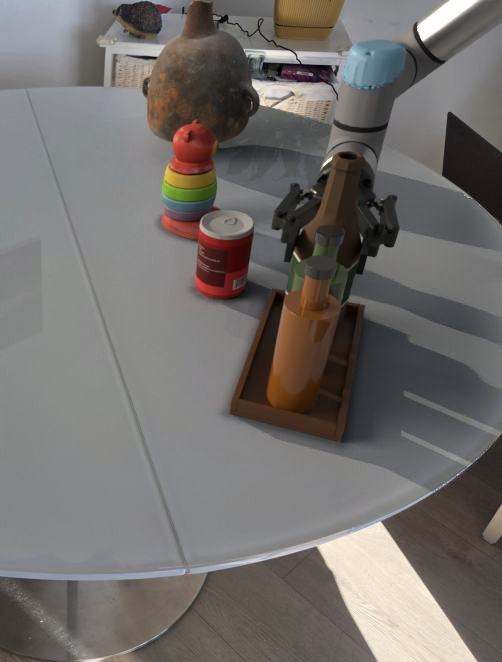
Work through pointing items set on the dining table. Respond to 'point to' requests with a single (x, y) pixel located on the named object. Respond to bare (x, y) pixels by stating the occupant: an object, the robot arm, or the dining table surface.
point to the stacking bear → (190, 180)
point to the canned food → (223, 253)
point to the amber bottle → (304, 339)
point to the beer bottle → (336, 219)
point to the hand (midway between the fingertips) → (324, 258)
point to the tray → (335, 383)
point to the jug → (200, 80)
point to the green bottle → (327, 245)
